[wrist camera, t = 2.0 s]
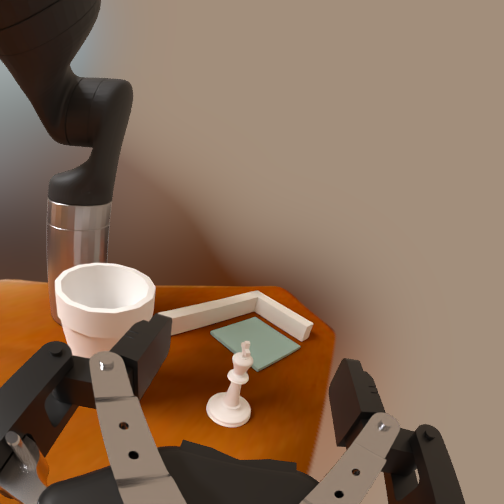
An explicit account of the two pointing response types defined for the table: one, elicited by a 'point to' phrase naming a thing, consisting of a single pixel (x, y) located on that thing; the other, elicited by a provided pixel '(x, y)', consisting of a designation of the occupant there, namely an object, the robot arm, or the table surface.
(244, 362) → the chess piece
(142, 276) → the foam cup
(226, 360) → the table surface
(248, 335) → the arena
